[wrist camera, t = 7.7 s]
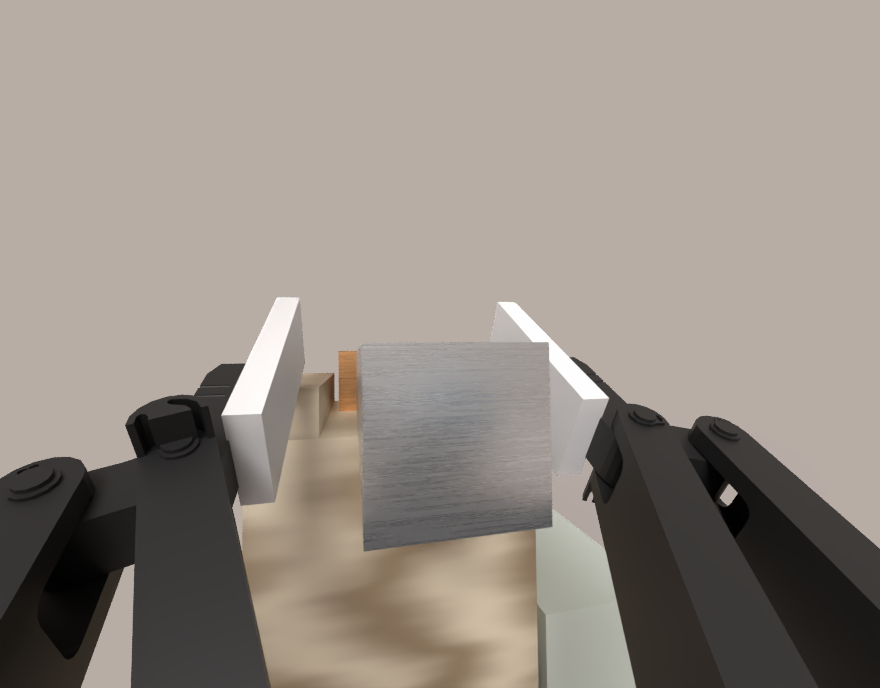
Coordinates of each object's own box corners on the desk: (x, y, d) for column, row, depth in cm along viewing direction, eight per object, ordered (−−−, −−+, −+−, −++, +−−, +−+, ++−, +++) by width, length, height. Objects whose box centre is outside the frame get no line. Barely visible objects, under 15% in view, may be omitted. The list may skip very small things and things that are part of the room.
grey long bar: (300, 560, 6) (299, 343, 6) (342, 399, 27) (341, 351, 28) (598, 520, 7) (594, 341, 7) (415, 396, 29) (415, 351, 29)
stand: (241, 1287, 13) (242, 390, 14) (294, 850, 25) (293, 373, 26) (546, 1125, 16) (532, 381, 17) (465, 799, 28) (459, 370, 28)
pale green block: (553, 1028, 18) (545, 615, 19) (468, 740, 32) (464, 505, 32) (671, 973, 20) (661, 593, 20) (542, 721, 33) (538, 497, 34)
